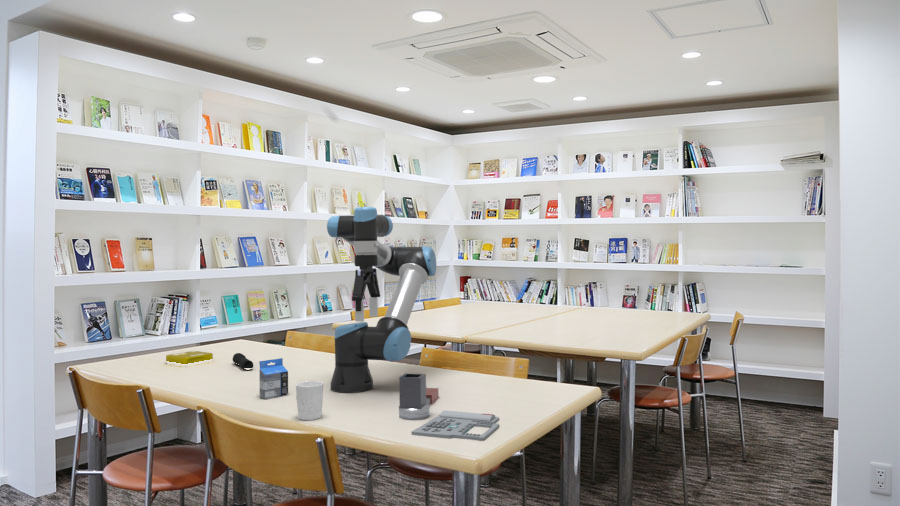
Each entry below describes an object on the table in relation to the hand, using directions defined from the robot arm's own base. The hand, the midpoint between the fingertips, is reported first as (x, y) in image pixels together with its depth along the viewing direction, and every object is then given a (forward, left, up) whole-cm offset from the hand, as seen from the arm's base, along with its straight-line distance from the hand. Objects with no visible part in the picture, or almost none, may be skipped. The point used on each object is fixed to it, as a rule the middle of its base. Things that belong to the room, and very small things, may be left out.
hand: (366, 319), depth 209 cm
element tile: (-62, +98, -27) cm, 119 cm away
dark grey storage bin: (+9, -24, -24) cm, 35 cm away
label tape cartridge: (-29, +17, -27) cm, 43 cm away
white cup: (-20, -15, -27) cm, 37 cm away
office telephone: (+19, -40, -27) cm, 52 cm away
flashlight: (-39, +78, -27) cm, 92 cm away
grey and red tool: (+14, -16, -27) cm, 34 cm away
